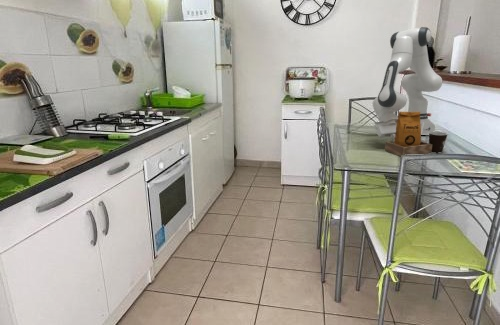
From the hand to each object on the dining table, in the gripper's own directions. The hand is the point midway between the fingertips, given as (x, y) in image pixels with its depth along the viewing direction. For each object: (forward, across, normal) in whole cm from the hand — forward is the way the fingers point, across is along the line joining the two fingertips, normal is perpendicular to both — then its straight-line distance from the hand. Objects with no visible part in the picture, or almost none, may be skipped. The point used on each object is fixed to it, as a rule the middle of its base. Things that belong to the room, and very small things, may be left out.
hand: (398, 141), depth 185 cm
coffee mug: (+12, +16, -5) cm, 21 cm away
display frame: (+8, 0, -2) cm, 8 cm away
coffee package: (+8, 0, -1) cm, 8 cm away
